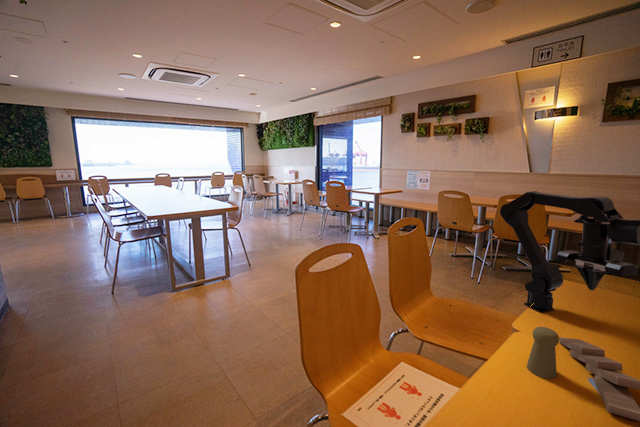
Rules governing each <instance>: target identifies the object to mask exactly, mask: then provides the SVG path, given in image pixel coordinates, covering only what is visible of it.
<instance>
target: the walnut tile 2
mask: <svg viewBox="0 0 640 427" xmlns="http://www.w3.org/2000/svg"><path fill="white" fill-rule="evenodd" d="M569 356H570V357H571V358H574V359H576V360H578V361H580V362H582V363H584V364H586V363H587V364H589V365H592V366H594V367H596V368H600V369H609V370H616V371H618V372H624V370H623V363H622V362H619V361H617V360H613V359H611V358H608V357H606V356H605V357H602V356H593V355H584V354H580V353H578V352H576V351H574V350H572V349H569Z"/></svg>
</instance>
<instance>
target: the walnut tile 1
mask: <svg viewBox="0 0 640 427" xmlns="http://www.w3.org/2000/svg"><path fill="white" fill-rule="evenodd" d="M559 344H560V345H562V346H564V347H566V348H568V349H569V350H574V351H576V352H578V353H580V354H584V355H593V356H602V357H606V354H605V349H603V348H600V347H598V346H596V345H593V344H592V343H589V342H588V341H587V342H586V341H585V340H582V339H581V338H580V339H578V338H570V337H560V336H559Z"/></svg>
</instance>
